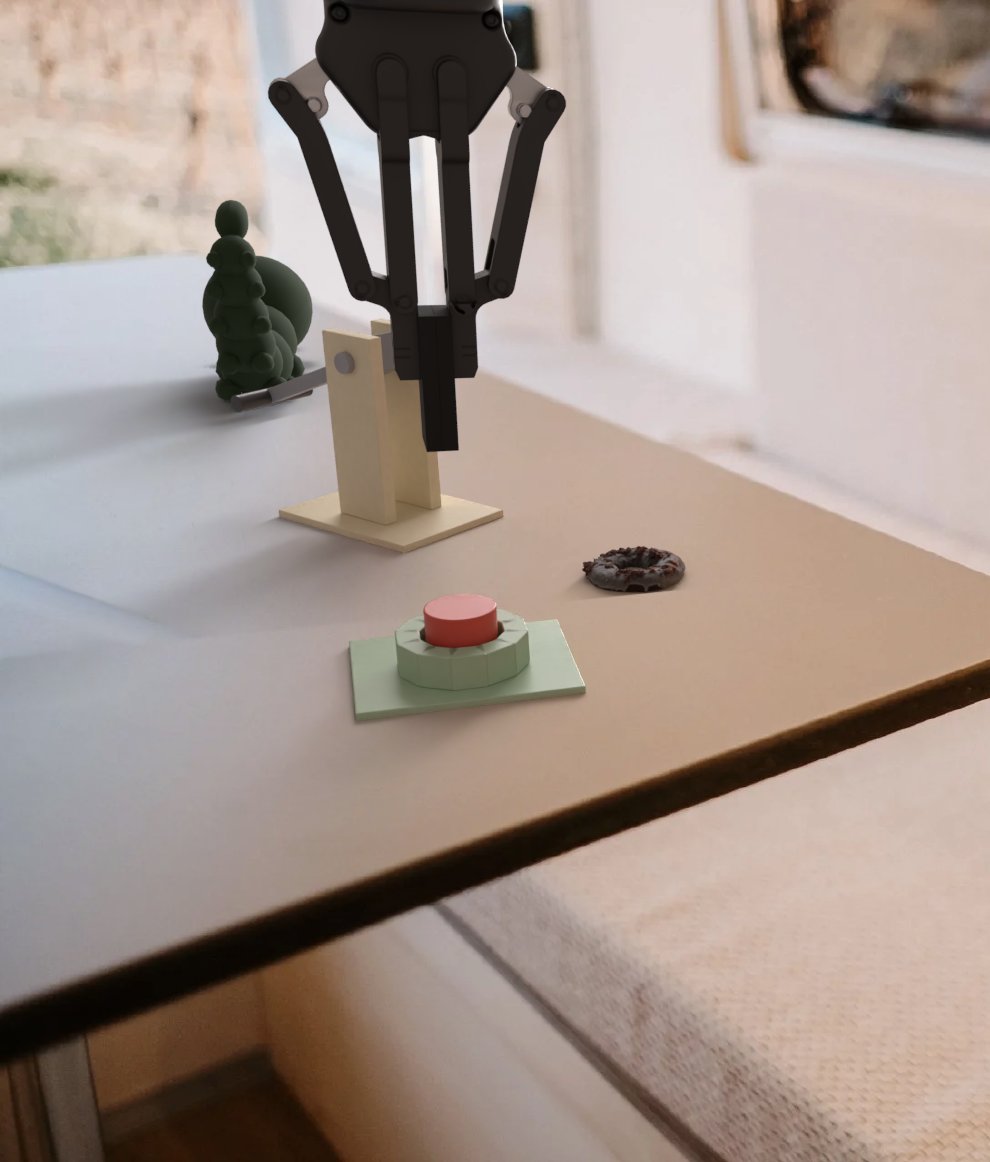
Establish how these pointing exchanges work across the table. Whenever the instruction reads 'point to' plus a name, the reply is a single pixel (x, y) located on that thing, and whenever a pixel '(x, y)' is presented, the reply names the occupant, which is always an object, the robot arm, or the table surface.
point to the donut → (658, 576)
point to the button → (460, 621)
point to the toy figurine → (252, 310)
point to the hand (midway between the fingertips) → (440, 443)
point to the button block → (461, 669)
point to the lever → (301, 384)
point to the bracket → (381, 455)
